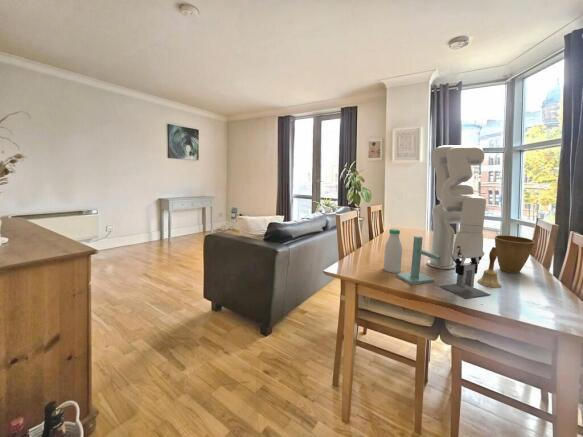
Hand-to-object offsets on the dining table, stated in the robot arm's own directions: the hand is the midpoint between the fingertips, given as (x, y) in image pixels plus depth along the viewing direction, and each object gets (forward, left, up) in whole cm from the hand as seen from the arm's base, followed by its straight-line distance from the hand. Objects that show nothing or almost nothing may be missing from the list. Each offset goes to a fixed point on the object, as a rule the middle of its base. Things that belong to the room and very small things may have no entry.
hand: (466, 273), depth 108 cm
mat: (0, 0, -7) cm, 7 cm away
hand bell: (-17, -3, -8) cm, 19 cm away
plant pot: (-43, -13, -8) cm, 46 cm away
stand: (+10, -13, -7) cm, 18 cm away
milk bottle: (+13, -28, -8) cm, 32 cm away
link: (0, 0, -5) cm, 5 cm away
